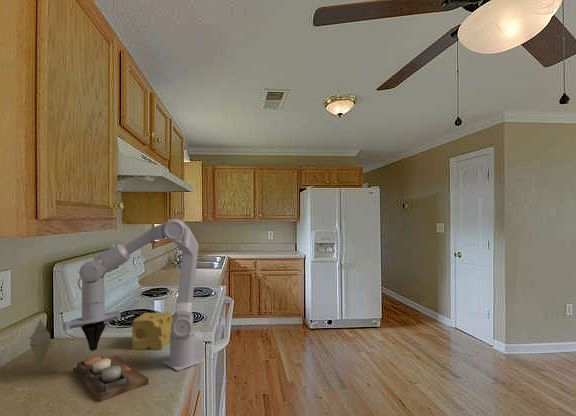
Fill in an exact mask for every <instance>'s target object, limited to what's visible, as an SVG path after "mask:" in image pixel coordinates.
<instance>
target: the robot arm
mask: <svg viewBox="0 0 576 416" xmlns="http://www.w3.org/2000/svg"><path fill="white" fill-rule="evenodd" d="M165 239H167V240H168V241H170V242H172V243H174V244H176V246H177V247H178V248H179V249H180V250H181V251H182V257H181V258H182V259H181V266H180V267H181V268H180V274H179V285H178V294H177V301H176V302H177V304H176V310H175V312H174V314H172V324H171V331H172V332H171V333H170V341H169V359H168V360H165V361H164V364H165V365H167V366H168V367H170V368H171V369H173V370H175V372H176V371H177V372H178V371H182V370H184V369H187V368H189V367H194V366H195V365H198V364H201V363H204V362H205V360H206V359H204V338H203V337H204V336H203V334H202V333H201V331H200V330H198V329H194V314H193V312H192V310H193V309H192V308H193V301H194V300H193V299H194V291H195V282H196V273H197V263H198V256H199V255H198V254H199V243H198V241H197V239H196V237H195V235H194V234H193V232H192V231H191V227H189V226H188V224H186V223H185V222H184V221H183V220H181V219H179V218H174V219H170V220H168V221H166V222H164V223H161V224H158V225H156V226H154V227H151V228H150V229H148V230H146V231H145V232H143V233H141V234H140V235H138V236H137V237H136V238H133V239H132V240H131V241H129V242H127V243H126V244H119V243H118V244H116V245H115V244H112V245H110V246H108V249H107V250H106V251H104V252H102V253H100V254H96V255H94V256H93V259H91V260H88V261H86V262H84V263H83V264H82V265H81V267H80V268H79V270H78V271H79V277H80V278H81V279H82V280H81V317H78V318H75V319H72V320H71V319H70V320H68V321H63V322H62V324H63V325H62V326H63V328H62V329H63V330H64V331H70V330H73V329H77V328H81V330H82V332H83V333H84V337H85V338H86V340H87V344H88V349H89V350H90V352H93V351H96V350H98V345H99V341H100V339H101V337H102V334H103V332H104V330H105V329H106V323H105V322H109V321H115V320H117V321H118V320H121V312H119V311H114V312H105V275H106V274H107V273H110V272H112V271H114V270H116V269H117V268H119V267H120V266H121V265H122V266H123V264H125V263H127V262H129V260H130V257H131V254H133V253H135V252H136V251H138V250H140V249H141V248H143V247H145V246H147V245H148V244H150V243H152V242H154V241H163V240H165Z"/></svg>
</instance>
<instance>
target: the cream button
mask: <svg viewBox="0 0 576 416" xmlns="http://www.w3.org/2000/svg"><path fill="white" fill-rule="evenodd" d="M107 367H111V360H110V359H106V358H104V359H99V360H96V361H94V362H93V370H92V371H93V372H94V373H101V372H102V370H103V369H105V368H107Z"/></svg>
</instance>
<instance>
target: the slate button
mask: <svg viewBox="0 0 576 416" xmlns="http://www.w3.org/2000/svg"><path fill="white" fill-rule="evenodd" d="M120 377H121V367H119V366H111V367H107V368H105V369H103V370H102V380H103V381H114V380H116V379H118V378H120Z"/></svg>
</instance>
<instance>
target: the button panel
mask: <svg viewBox="0 0 576 416" xmlns="http://www.w3.org/2000/svg"><path fill="white" fill-rule="evenodd" d="M100 356H101V357H102V359H110V360H111V366H119V367H121V377H120V378H118V379H116V380H114V381H103V380H102V372H101V373H94V372H93V371H92V370H93V366H91V367H87V368H86V367H85V366H84V360H80V361H79V362H76V366H74V367H72V375H74V377H76V378H77V380H79V381H80V382H81V383H82V385H84V386H85V387H86V388H87V390H88V391H89V392H91V393H92V394H93V396H94V397H96V399H97V400H98V401H99V402H104V401H106V400H108V399H111V398H114V397H116V396H119V395H122V394H125V393H127V392H130V391H134V390H136V389H139V388H141V387H144V386H148V385H149V377H147V376H146V375H144V374H143V373H142V372H140V371H139V370H138V369H136V368H134V367H133V366H131V365H130V364H129V363H128V362H126V361H125V360H123V359H122V358H120V357H119V356H117V355H114V356H111V357H110V356H109V357H107V358H105V357H103V356H102V355H100Z"/></svg>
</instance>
